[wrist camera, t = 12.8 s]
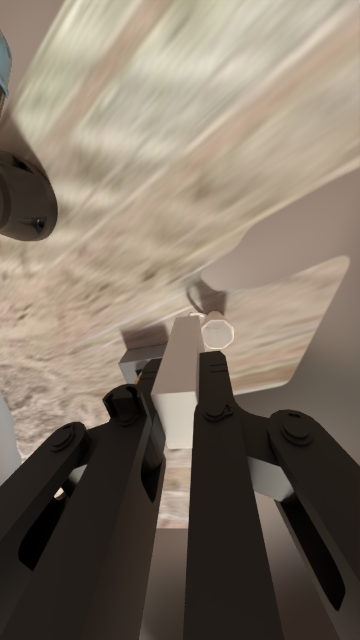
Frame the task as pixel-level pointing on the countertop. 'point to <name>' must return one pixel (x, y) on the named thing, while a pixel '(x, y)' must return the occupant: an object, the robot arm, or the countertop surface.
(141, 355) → the panel
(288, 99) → the countertop surface
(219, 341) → the cup
